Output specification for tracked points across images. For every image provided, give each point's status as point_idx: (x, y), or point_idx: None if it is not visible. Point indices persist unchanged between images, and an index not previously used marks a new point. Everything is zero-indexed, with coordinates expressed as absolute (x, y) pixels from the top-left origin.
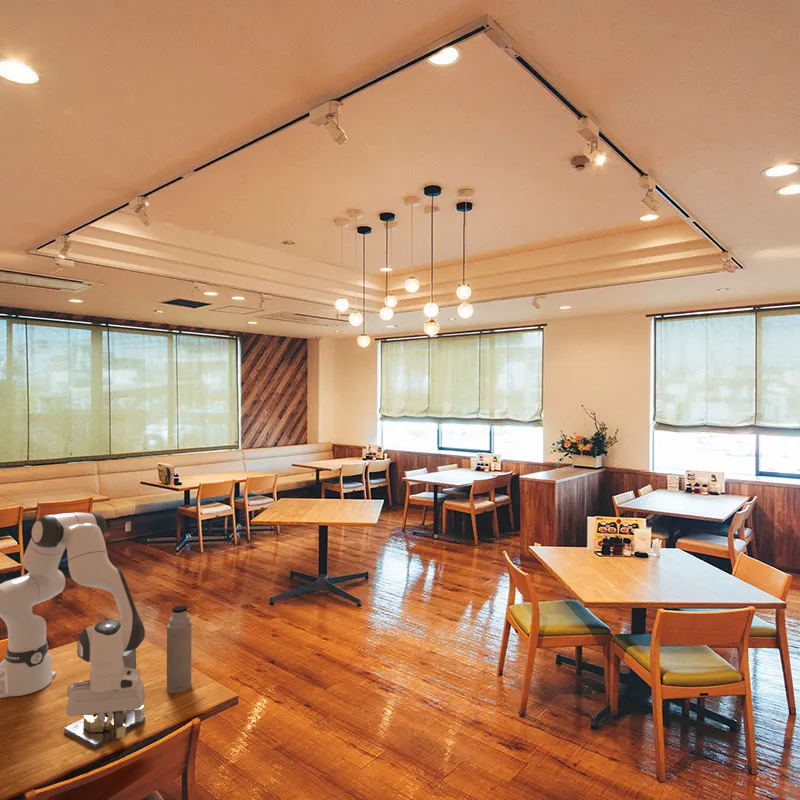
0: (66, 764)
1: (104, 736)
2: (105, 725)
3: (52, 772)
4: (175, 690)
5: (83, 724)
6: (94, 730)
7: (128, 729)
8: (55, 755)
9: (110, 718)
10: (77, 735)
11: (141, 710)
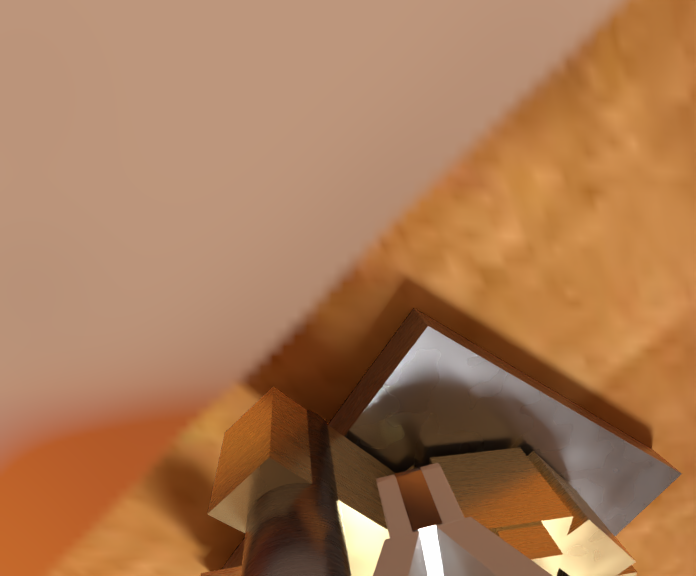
0: (565, 131)
1: (398, 415)
2: (408, 479)
3: (644, 23)
4: None
5: None
6: (495, 459)
7: None
8: (660, 247)
9: None
10: (587, 418)
11: None
